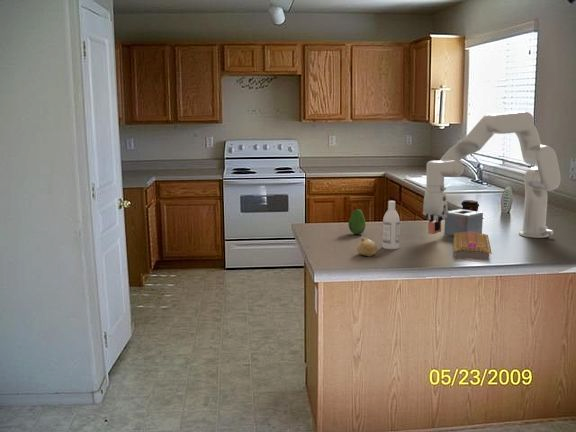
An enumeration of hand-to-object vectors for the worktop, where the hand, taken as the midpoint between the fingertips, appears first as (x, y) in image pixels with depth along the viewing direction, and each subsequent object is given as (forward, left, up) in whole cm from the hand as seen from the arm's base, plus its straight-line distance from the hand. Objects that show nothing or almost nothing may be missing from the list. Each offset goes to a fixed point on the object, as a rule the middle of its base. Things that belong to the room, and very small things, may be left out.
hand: (434, 229), depth 269 cm
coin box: (-3, -18, -5) cm, 19 cm away
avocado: (+31, +17, -5) cm, 36 cm away
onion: (+1, +43, -5) cm, 43 cm away
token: (0, 0, -1) cm, 1 cm away
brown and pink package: (-21, +3, -6) cm, 22 cm away
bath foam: (+3, +26, -5) cm, 26 cm away
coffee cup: (+7, -38, -5) cm, 39 cm away
